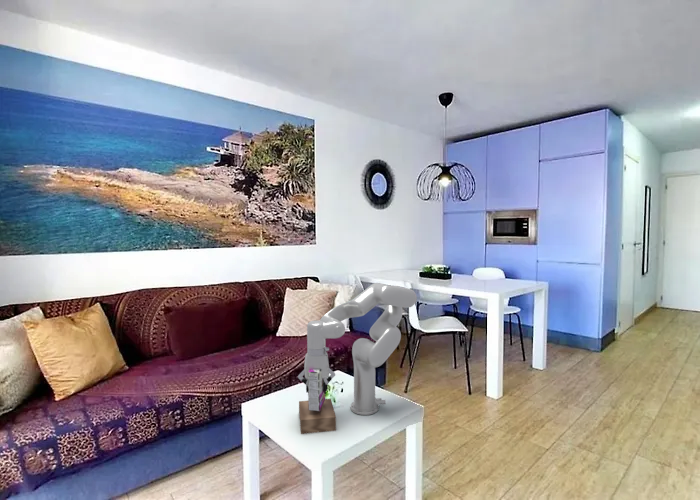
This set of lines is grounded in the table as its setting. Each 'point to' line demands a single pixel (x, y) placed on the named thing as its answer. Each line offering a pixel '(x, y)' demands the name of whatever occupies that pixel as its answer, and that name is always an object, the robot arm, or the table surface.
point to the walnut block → (317, 418)
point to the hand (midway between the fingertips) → (316, 392)
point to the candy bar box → (315, 389)
